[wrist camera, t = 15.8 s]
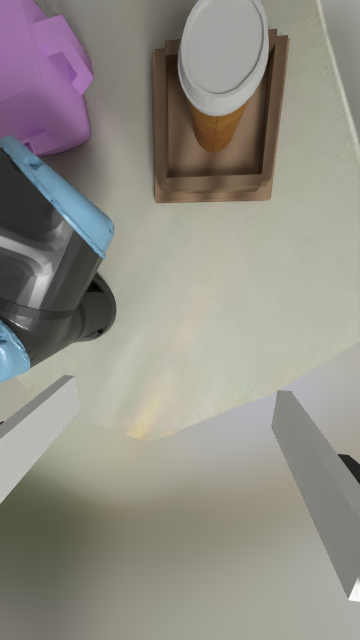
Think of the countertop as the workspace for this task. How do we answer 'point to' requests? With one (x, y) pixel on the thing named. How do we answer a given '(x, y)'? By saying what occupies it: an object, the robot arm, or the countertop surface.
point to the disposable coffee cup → (222, 65)
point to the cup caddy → (237, 157)
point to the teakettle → (42, 80)
